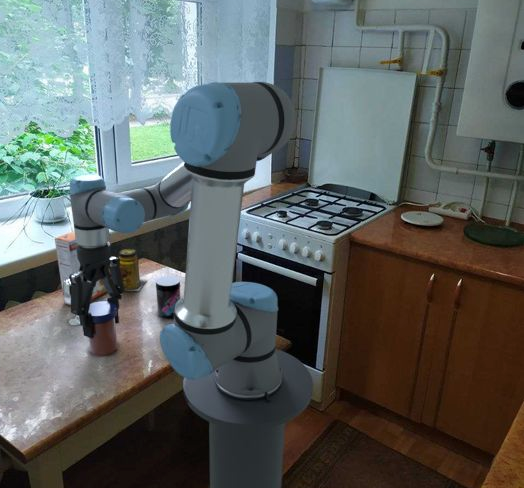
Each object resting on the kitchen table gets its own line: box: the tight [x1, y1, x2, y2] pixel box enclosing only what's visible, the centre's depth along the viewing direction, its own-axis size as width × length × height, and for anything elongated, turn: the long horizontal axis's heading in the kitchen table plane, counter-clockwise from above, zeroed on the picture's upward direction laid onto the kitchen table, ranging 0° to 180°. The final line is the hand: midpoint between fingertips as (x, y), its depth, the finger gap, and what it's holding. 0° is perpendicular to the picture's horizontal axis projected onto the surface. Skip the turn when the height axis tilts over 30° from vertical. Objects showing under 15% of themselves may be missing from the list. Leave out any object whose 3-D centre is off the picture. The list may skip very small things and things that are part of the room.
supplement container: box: [155, 275, 181, 319], centre depth 141 cm, size 7×7×10 cm
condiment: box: [118, 248, 147, 292], centre depth 157 cm, size 7×8×12 cm
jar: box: [88, 317, 118, 356], centre depth 123 cm, size 7×7×11 cm
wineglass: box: [62, 279, 81, 326], centre depth 135 cm, size 6×6×12 cm
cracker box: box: [54, 230, 108, 306], centre depth 147 cm, size 14×6×21 cm, turn 154°
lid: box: [89, 300, 117, 323], centre depth 121 cm, size 8×8×2 cm
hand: (101, 328), depth 123 cm, fingers closed on lid, 8 cm apart
